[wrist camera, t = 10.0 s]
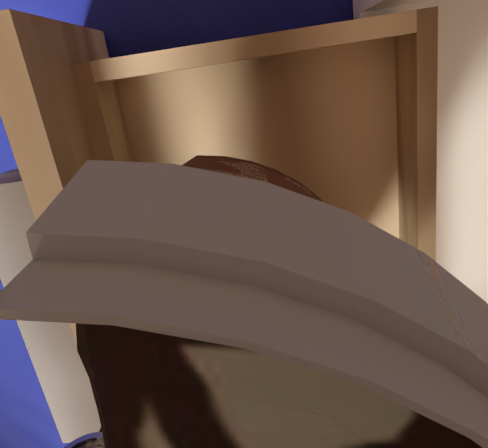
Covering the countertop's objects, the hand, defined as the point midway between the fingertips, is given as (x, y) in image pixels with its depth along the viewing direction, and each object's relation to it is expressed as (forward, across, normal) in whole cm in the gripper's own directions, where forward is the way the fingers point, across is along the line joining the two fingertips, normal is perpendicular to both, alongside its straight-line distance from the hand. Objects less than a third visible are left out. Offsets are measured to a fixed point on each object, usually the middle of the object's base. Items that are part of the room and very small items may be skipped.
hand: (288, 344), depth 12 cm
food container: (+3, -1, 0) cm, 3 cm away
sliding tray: (+8, +2, 0) cm, 8 cm away
